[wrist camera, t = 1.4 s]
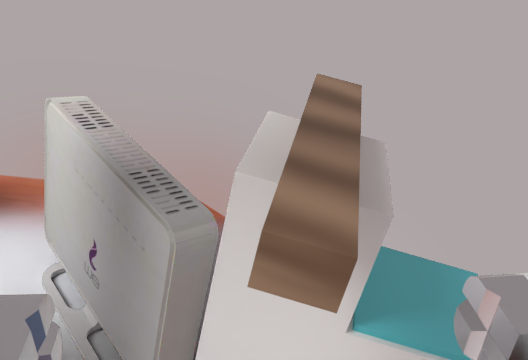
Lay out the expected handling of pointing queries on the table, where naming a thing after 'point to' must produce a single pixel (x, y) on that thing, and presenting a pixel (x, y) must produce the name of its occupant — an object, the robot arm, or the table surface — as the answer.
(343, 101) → the walnut block
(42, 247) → the table surface
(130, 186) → the network device
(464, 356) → the stepped stand
